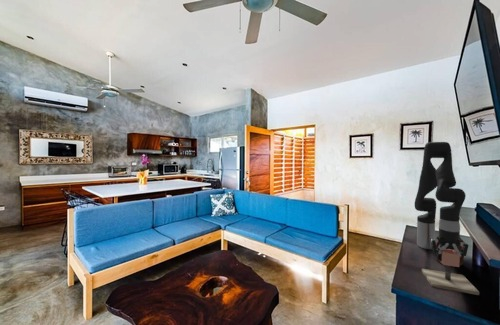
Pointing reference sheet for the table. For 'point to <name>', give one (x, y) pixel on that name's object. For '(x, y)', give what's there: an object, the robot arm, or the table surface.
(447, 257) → the bead
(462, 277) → the peg board
